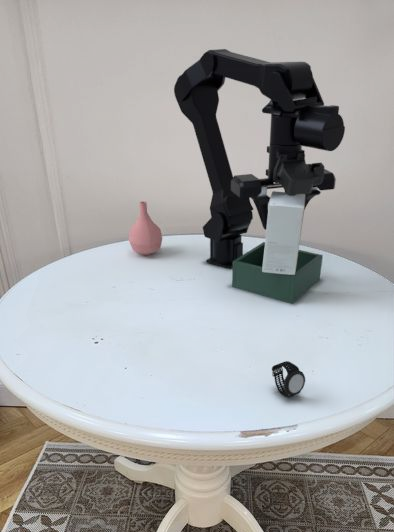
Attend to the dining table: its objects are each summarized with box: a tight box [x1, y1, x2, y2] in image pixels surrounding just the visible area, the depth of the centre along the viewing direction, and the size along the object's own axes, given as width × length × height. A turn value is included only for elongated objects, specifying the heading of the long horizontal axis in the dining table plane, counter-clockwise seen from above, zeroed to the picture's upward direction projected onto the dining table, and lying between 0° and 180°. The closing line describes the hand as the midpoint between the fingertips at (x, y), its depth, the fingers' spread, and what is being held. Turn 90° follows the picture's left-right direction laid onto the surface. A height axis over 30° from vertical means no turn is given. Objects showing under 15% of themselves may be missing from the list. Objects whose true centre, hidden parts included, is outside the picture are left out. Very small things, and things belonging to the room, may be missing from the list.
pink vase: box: [128, 201, 163, 256], centre depth 121 cm, size 8×8×12 cm
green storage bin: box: [231, 241, 324, 304], centre depth 108 cm, size 14×13×6 cm
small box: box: [262, 190, 306, 275], centre depth 99 cm, size 8×6×13 cm
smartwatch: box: [271, 360, 306, 399], centre depth 77 cm, size 4×5×5 cm
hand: (280, 227), depth 103 cm, fingers closed on small box, 6 cm apart
